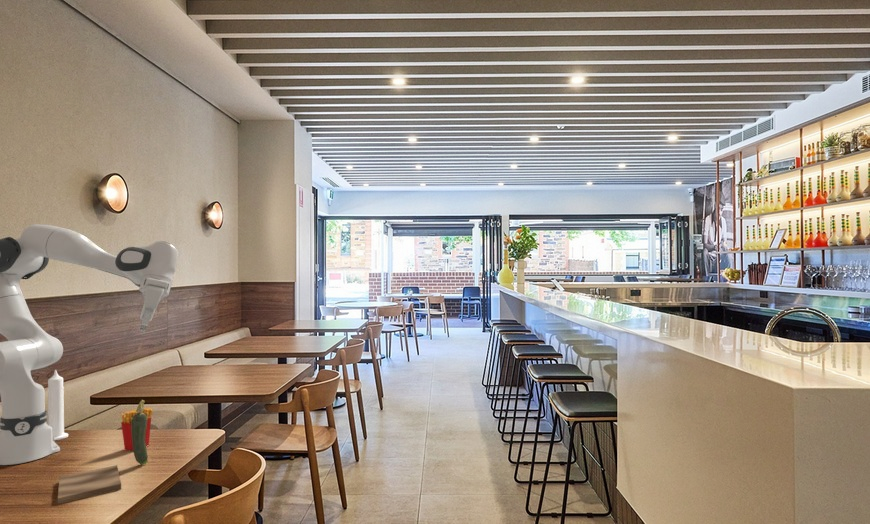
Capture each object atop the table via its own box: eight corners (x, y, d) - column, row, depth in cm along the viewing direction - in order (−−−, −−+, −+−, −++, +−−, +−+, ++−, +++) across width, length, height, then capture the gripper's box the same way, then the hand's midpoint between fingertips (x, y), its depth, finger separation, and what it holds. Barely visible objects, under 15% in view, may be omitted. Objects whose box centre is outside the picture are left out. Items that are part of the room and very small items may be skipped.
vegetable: (136, 469, 152) (135, 403, 153) (128, 466, 155) (127, 401, 155) (151, 464, 156) (149, 399, 156) (143, 461, 158) (142, 398, 159)
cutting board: (59, 482, 144) (59, 477, 144) (117, 470, 152) (117, 465, 152) (57, 504, 130) (57, 498, 130) (121, 489, 138) (121, 483, 138)
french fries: (123, 452, 167) (122, 413, 167) (120, 449, 170) (120, 411, 170) (154, 445, 173) (153, 408, 173) (151, 442, 176) (150, 405, 176)
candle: (55, 441, 180) (54, 372, 180) (39, 440, 181) (38, 371, 182) (73, 435, 187) (72, 368, 187) (57, 434, 188) (56, 367, 189)
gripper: (142, 294, 173) (130, 332, 168) (147, 276, 157) (134, 318, 152) (162, 298, 176) (151, 336, 171) (169, 281, 160) (157, 322, 155)
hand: (143, 328), depth 161 cm, fingers open, 8 cm apart
